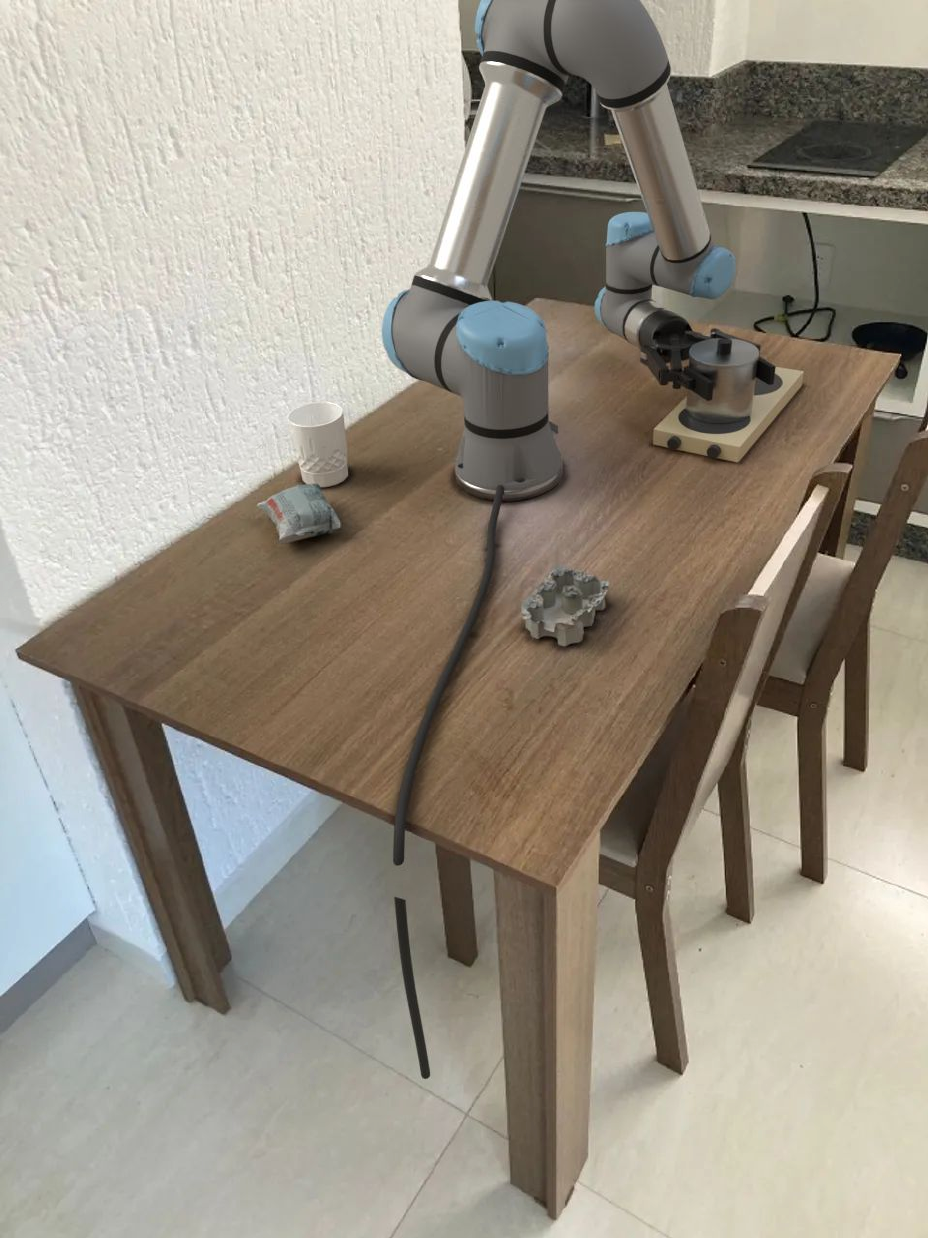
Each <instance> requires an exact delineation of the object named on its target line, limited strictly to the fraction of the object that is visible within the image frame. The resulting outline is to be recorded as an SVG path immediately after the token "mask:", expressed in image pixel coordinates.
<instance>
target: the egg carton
mask: <svg viewBox="0 0 928 1238" xmlns="http://www.w3.org/2000/svg"><path fill="white" fill-rule="evenodd" d="M609 587H610V580H609V579H604V580H600V579H599V578H598V577H597V576H596V575H595V574H588V573H587V572H586V571H582V570H581V571H580V570H579V569H576V568H574V569H571V568H569V567H567V566H566V565H564V564H562V563H559V562H557V563H556V565H555V566H554V567H553V569H552V570H551V571H550V573H549V574H548V576H545V578H544V580H543V581H540V582H539V584H538V585H537V587H536V588H535V589H534V590H533V591H532V592H531V594H530V595H529V596H528V597H527V598H525V599H524V600H523V601H522V602H521V605H520V611H521V613H520V615H521V616H520V617H521V618H522V620H525V629H527V630H528V631H529V632H530V636H531V638H534V639H536V640H539V639H540V638H542V637H553V638H556V640H557V645H558V646H562V647H567V646H569V645H570V644H578V643H580V642H582V640H583V637H584V634H585V631H584V627H592V626H593V624H594V621H595V620H594V619H595V616H596V611H603V610H604V609H606V600H605V599H606V595H607V593H608V592H609V591H610V588H609Z"/></svg>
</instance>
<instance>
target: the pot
mask: <svg viewBox="0 0 928 1238" xmlns="http://www.w3.org/2000/svg"><path fill="white" fill-rule="evenodd" d="M758 358H759V350H758V348H757V347H756V346H754V345H753V344H751V343H748V342H746V341H742V340H737V339H728V338H717V339H709V340H704V341H701V342H698V343H696V344H694V345H693V346H692V347H691V348H690V350H689V359H688V366H689V367H691V368H692V369H694V370H695V371H697V372H699V373H700V374H702V375H703V376H705V377H706V378H708V379H710V380H711V381H713V382H714V384H713V396H712V400H710V401H707V400H705V399H704V398H702V397H701V396H699V395H698V394H696V393H695V392H693V391H692V390H690V389H686V397H687V399H686V411H687V413H688V414H689V415H690V416H691V417H693V418H695V419H697V420H700V421H704V422H708V423H718V424H723V423H733V422H738V421H741V420H743V419H745V418H747V417H748V416H749V415H750V414H751V412H752V406H753V397H754V388H755V380H756V371H757V362H758Z"/></svg>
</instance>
